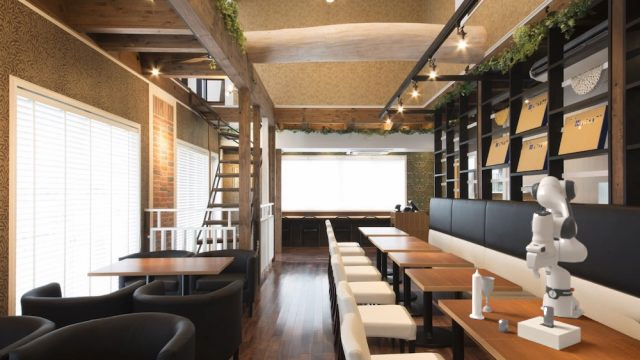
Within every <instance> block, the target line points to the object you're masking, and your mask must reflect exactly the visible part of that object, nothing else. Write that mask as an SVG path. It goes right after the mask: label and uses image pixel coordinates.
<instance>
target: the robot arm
mask: <svg viewBox="0 0 640 360" xmlns="http://www.w3.org/2000/svg"><path fill="white" fill-rule="evenodd" d="M530 194H531V197H532V199H533V200H534V201H537V203H538V204H539V205H540V206H542V207H543V208H545V210H537V211H535V212H534V213H533V214H532V220H531V221H530V232H531V233H532V238H531V242H530V243H529V244H527V246H526V247H525V250H526V251H527V252H526V267H527V268H528V269H531V270H532V271H533V274H534V278H535V279H540V277H541V273H539V270H540V269H543V268H544V270H545V275H546V285H545V294H543V301H542V306H540V310H542V312H544V306H551V307H553V308H554V317H559V318H572V319H579V318H580V317H581V316H583V315H584V314H585V310H583V309H580V301H579V300H578V299H577V298H576V297H575V296H574V295H573V293H574V292H575V291H576V289H575V287H572V286H571V284H572V282H571V280H572V279H571V274H570V272H569V270H567V269H566V268H564V267H562V266H560V265H558V262H565V263H581V262H584V261H585V260H586V258H587V257H588V250H587V247H586V246H585V245H584V244H583V243H582V242H581V241H579V240H578V239H576V236H577V233H578V225H577V223H576V221H575V218H574V215H573V214H574V213H573V211H572V207H571V206H572V205H571V204H570V203H571V201H573V200H574V199H575V198H576V197H577V194H578V186H577V184H576V183H575V181H573V180H570V179H566V180H559V178H557V177H555V176H551V175H550V176H545V177H543V178H542V179H541V180H540V182H536V183H534V184H532V186H531V189H530ZM555 238H556V239H558V240H554V239H555Z"/></svg>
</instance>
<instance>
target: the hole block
mask: <svg viewBox="0 0 640 360" xmlns="http://www.w3.org/2000/svg"><path fill="white" fill-rule="evenodd" d="M581 333H582V332H581V327H579V326H576V325H572V324H568V323H565V322H562V321H557V320H555V319H554V328H549V327H546V326H544V316H540V315H539V316H536V317H533V318H529V319H526V320H522V321H519V322H517V337H519V338H522V339H526V340H528V341H531V342H534V343H537V344H540V345H543V346H545V347H549V348H551V349H554V350H557V351H560V350H563V349H565V348H567V347H570V346H573V345H576V344H578V343H581V338H582V337H581V336H582V335H581Z"/></svg>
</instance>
